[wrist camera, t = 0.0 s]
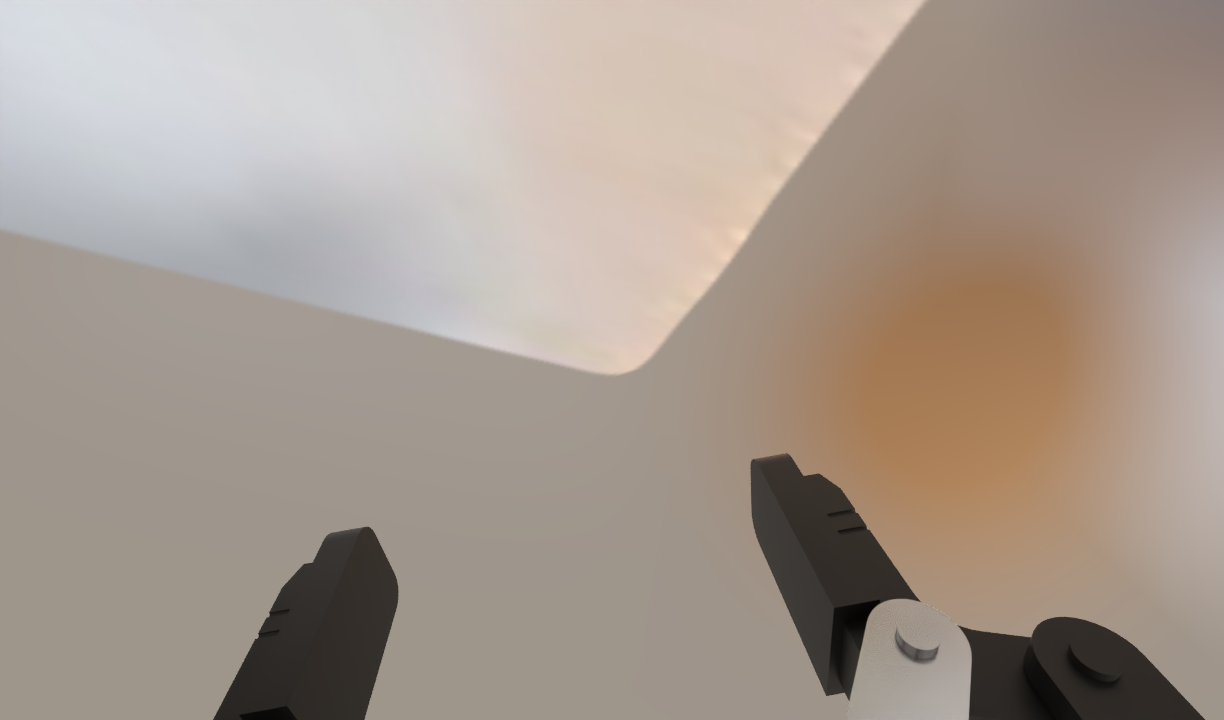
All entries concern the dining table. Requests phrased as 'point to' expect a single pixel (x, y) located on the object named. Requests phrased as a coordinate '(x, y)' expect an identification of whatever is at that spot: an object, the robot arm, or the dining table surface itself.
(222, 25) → the dining table surface
